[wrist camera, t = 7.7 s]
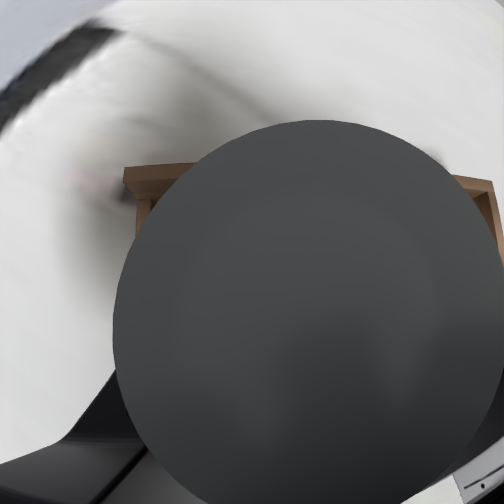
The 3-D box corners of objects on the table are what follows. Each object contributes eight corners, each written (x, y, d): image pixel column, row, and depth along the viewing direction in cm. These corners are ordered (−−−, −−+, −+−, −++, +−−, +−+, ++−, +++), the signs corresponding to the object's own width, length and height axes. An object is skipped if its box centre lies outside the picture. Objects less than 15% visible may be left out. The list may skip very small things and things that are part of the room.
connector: (279, 366, 15) (429, 527, 2) (202, 339, 15) (68, 453, 2) (306, 290, 16) (523, 214, 3) (230, 263, 16) (218, 72, 3)
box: (467, 389, 18) (506, 398, 13) (151, 428, 16) (130, 458, 12) (456, 201, 20) (491, 181, 16) (146, 197, 19) (124, 167, 15)
